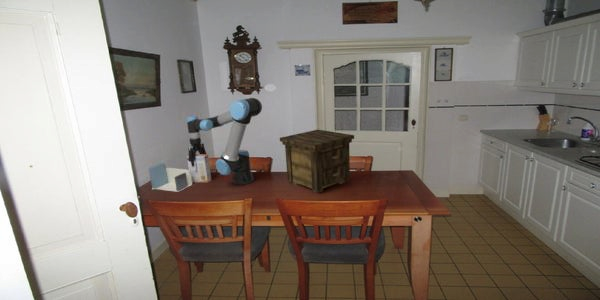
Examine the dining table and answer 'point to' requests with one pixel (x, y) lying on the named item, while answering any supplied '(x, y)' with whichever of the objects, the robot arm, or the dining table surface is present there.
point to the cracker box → (200, 168)
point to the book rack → (167, 177)
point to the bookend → (181, 181)
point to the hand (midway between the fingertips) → (199, 168)
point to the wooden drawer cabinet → (317, 158)
